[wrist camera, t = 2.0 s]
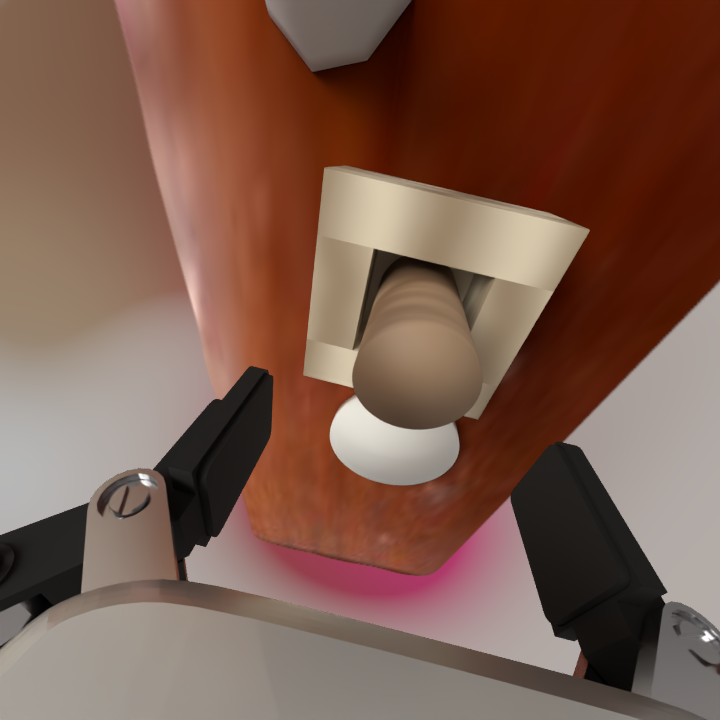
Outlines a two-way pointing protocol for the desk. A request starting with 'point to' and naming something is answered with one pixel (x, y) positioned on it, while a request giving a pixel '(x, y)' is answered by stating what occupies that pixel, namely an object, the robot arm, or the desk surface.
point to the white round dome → (391, 447)
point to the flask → (335, 28)
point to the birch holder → (437, 245)
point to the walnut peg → (417, 349)
